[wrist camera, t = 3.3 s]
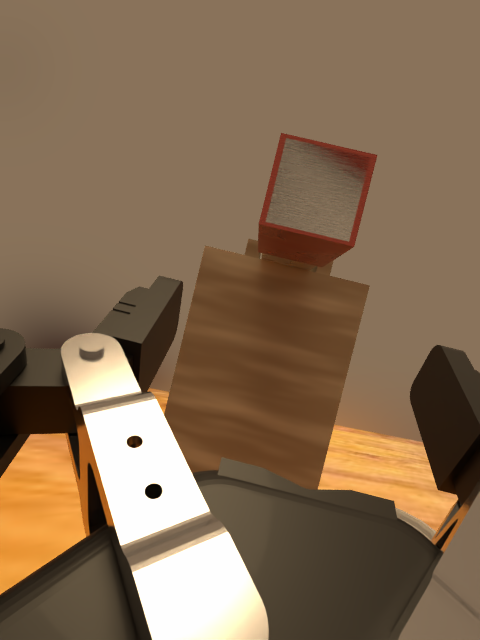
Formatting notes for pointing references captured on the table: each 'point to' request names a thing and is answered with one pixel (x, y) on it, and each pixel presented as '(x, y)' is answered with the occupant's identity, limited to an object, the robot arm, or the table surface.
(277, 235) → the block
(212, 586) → the robot arm
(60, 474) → the table surface
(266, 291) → the stand
